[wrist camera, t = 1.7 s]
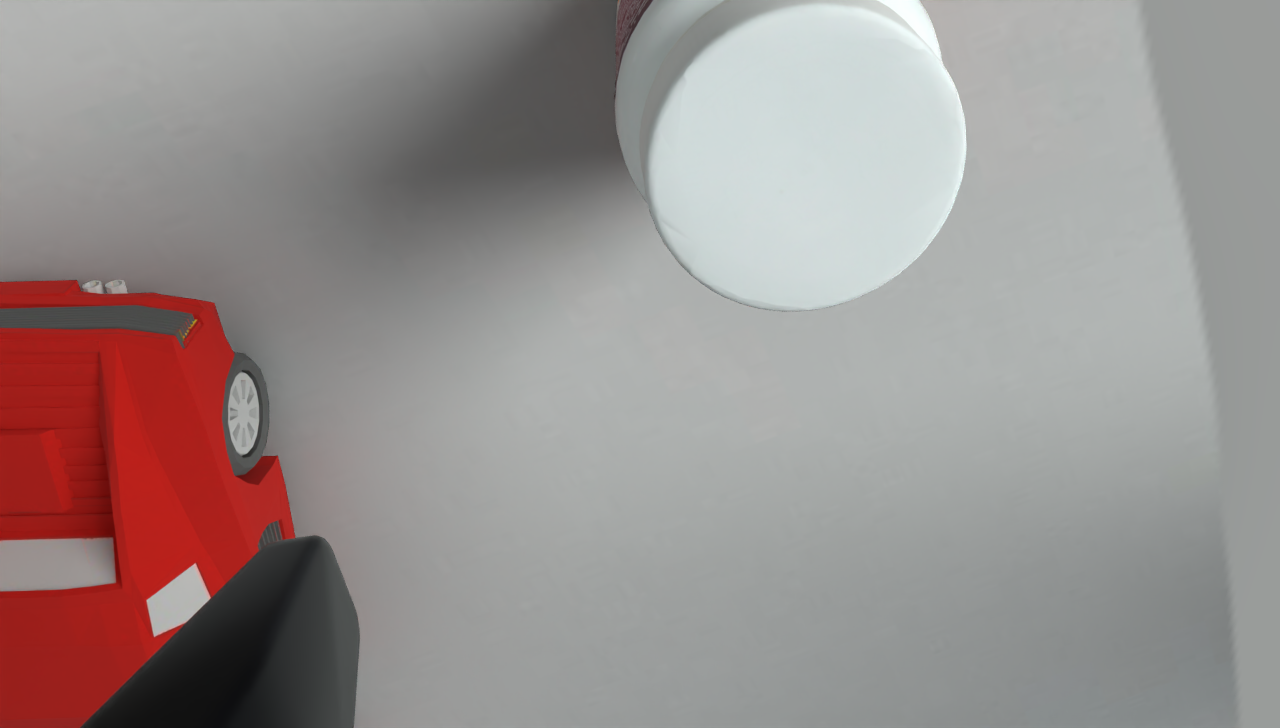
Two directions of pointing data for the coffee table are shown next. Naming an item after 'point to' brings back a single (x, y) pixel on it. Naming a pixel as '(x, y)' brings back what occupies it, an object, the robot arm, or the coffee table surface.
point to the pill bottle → (789, 141)
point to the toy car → (118, 485)
